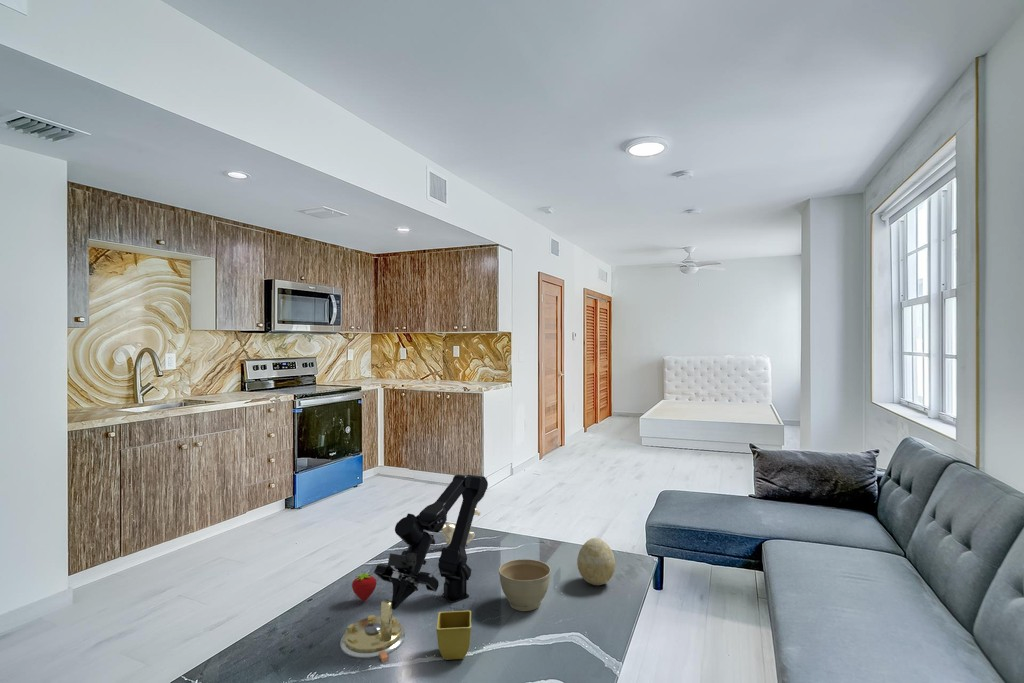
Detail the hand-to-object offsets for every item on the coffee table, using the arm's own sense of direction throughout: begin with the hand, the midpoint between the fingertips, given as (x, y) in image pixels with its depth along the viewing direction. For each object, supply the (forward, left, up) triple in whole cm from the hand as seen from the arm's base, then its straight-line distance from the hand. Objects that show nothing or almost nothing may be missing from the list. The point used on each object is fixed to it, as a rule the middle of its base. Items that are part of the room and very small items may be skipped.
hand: (392, 609), depth 135 cm
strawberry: (-2, -28, -10) cm, 30 cm away
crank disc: (+3, -6, -10) cm, 12 cm away
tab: (+4, +4, -10) cm, 11 cm away
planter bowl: (-42, +3, -10) cm, 43 cm away
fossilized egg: (-70, +6, -10) cm, 71 cm away
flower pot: (-12, +13, -10) cm, 20 cm away
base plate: (+3, -6, -10) cm, 12 cm away
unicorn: (-47, -49, -10) cm, 69 cm away
